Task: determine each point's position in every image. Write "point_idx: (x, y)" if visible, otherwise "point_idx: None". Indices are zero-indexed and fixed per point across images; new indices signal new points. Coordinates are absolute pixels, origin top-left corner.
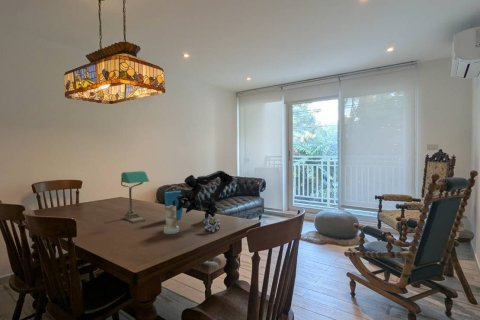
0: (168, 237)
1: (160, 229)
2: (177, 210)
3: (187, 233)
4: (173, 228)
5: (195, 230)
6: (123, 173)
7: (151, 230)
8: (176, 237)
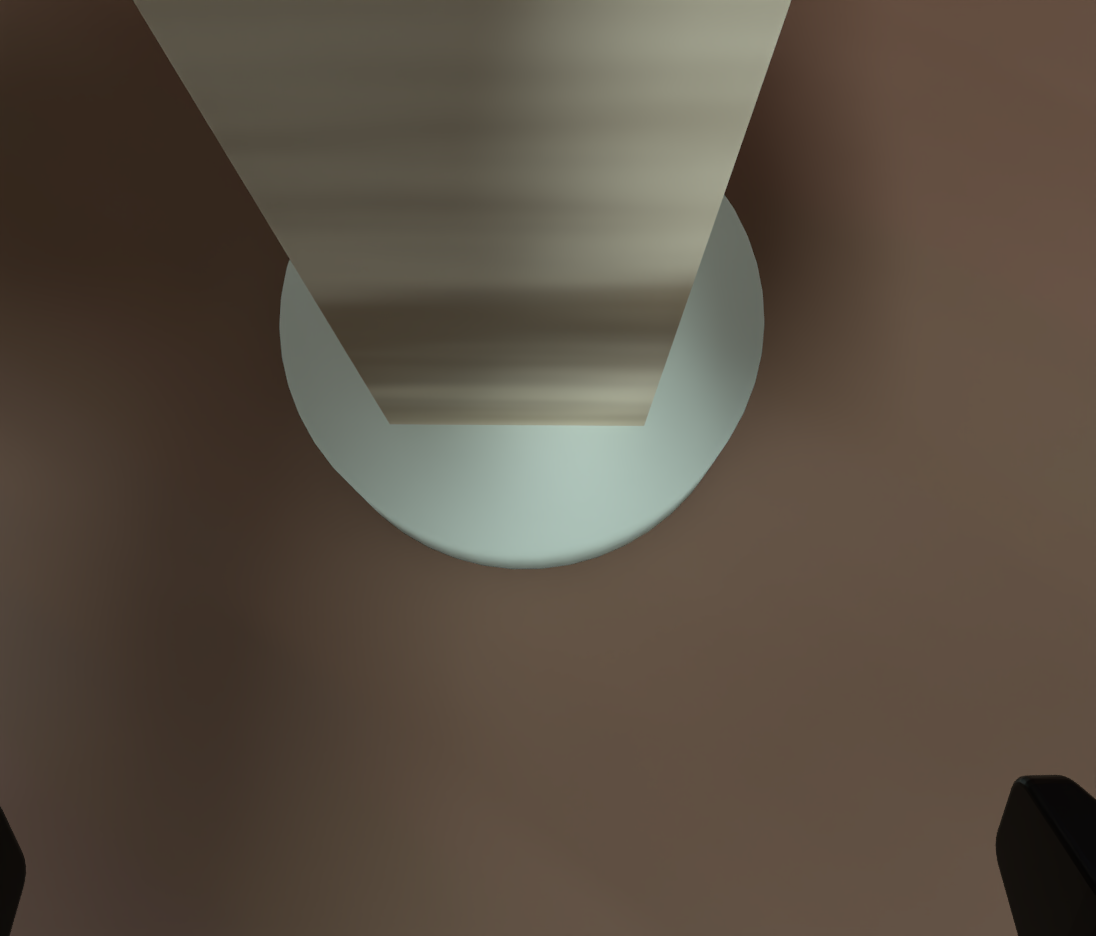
0: None
1: (967, 277)
2: (1008, 824)
3: (10, 558)
4: None
5: (18, 920)
6: None
7: (1063, 76)
8: (9, 173)
